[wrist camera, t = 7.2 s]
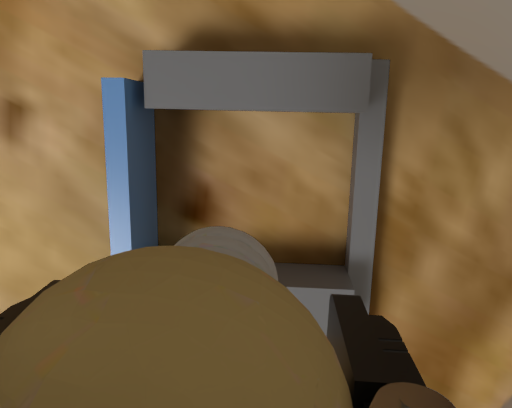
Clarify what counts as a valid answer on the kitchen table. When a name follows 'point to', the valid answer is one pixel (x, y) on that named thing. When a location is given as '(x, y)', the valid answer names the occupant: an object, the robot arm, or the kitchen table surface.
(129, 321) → the light bulb
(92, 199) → the kitchen table surface
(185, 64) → the gray e-shaped frame
